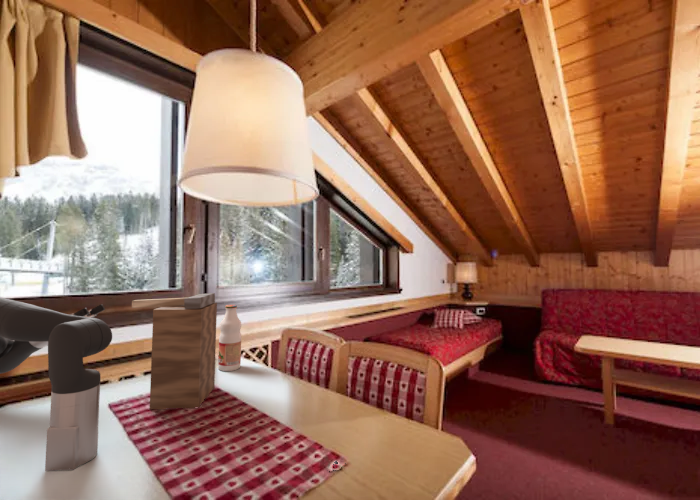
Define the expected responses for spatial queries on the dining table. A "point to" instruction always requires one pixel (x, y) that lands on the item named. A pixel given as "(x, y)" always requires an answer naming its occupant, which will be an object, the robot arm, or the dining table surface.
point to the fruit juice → (230, 341)
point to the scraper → (178, 301)
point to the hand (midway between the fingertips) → (95, 308)
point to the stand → (182, 356)
